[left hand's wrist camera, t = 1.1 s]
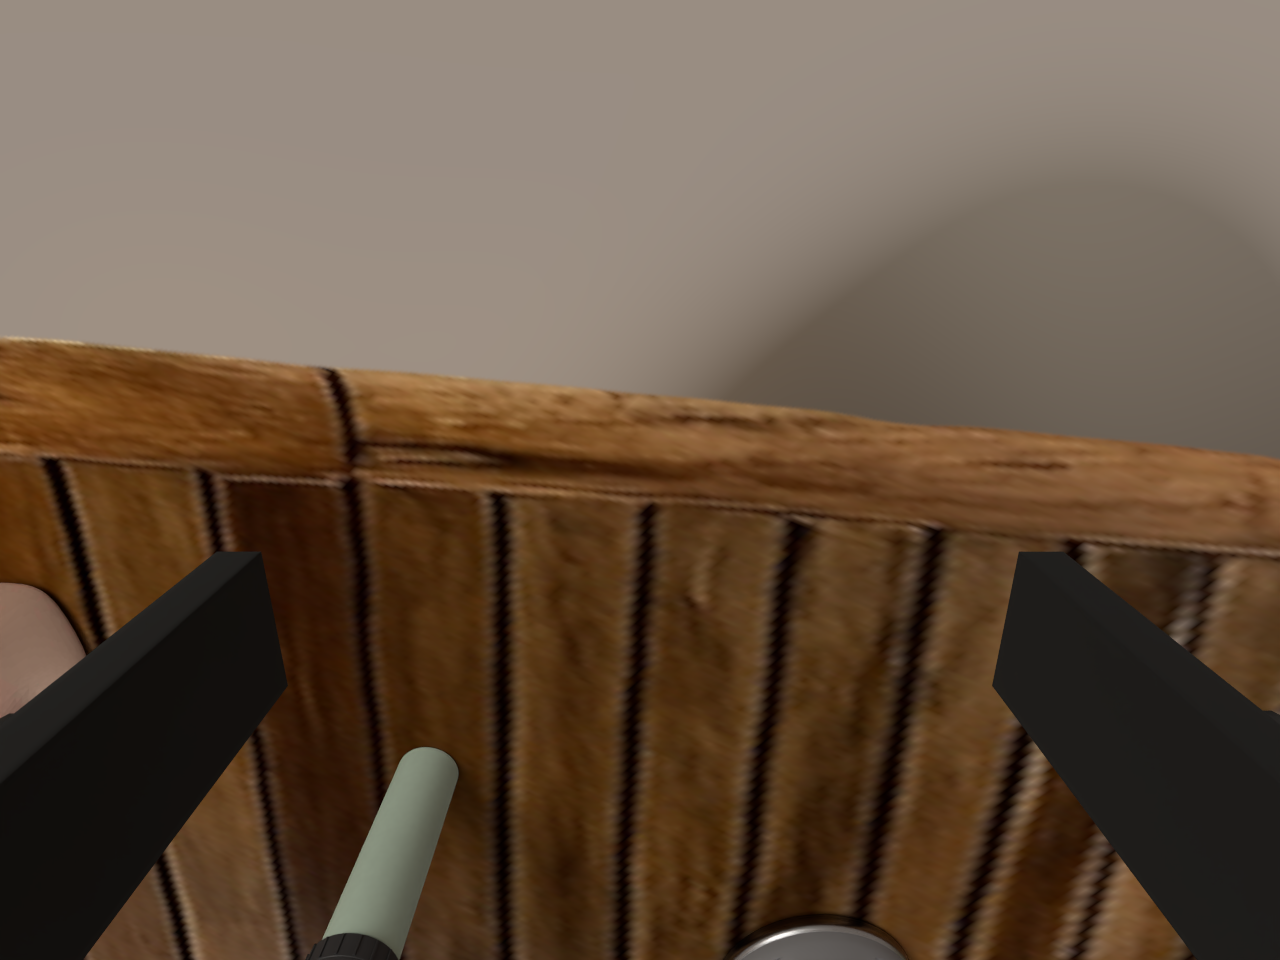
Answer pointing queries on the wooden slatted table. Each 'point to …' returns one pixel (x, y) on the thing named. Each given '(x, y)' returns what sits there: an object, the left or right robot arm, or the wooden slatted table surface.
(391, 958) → the lid
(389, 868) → the bottle
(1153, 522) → the wooden slatted table surface
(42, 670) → the anatomical model
